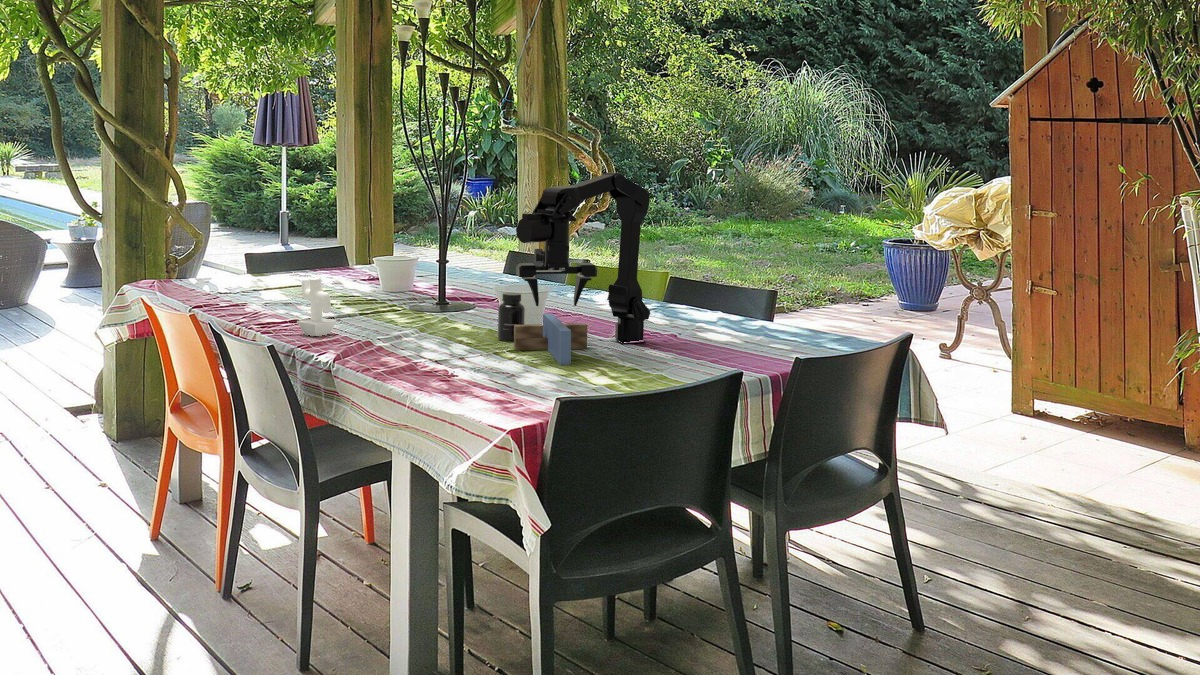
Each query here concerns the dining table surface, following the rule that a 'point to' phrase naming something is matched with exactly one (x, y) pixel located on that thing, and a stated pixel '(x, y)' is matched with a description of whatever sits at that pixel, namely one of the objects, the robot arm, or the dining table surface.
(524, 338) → the walnut slotted board
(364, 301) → the dining table surface
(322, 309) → the figurine
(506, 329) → the supplement bottle
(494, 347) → the dining table surface
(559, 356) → the slate blue tapered plate
